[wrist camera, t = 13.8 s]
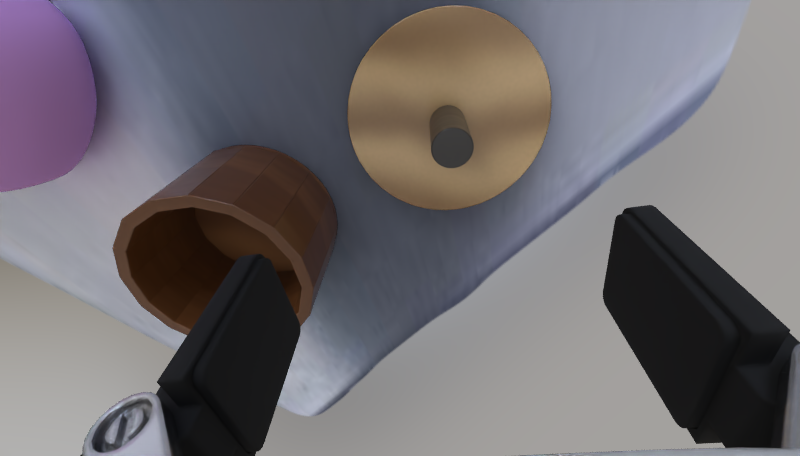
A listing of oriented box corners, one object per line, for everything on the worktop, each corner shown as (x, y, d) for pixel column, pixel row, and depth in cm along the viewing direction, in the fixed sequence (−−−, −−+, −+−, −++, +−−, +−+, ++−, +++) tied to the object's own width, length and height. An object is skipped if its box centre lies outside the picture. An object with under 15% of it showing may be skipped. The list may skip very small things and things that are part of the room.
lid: (327, 27, 23) (299, 37, 18) (550, -16, 21) (592, -21, 16) (372, 212, 30) (361, 257, 25) (543, 191, 28) (570, 235, 23)
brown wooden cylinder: (158, 157, 29) (70, 211, 21) (312, 133, 27) (272, 183, 20) (225, 280, 35) (175, 353, 28) (353, 267, 33) (334, 341, 26)
